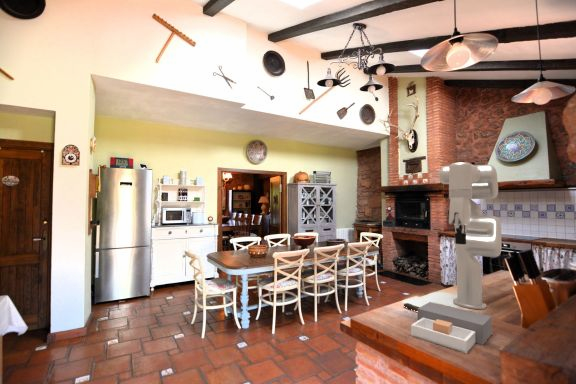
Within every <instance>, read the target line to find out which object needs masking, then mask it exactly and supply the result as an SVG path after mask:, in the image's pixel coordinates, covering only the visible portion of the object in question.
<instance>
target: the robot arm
mask: <svg viewBox="0 0 576 384" xmlns="http://www.w3.org/2000/svg"><path fill="white" fill-rule="evenodd" d="M438 179H439V182H440V183H441V184H443V185H448V199H449V200H450V202H449V208H448V209H449V212H448V213H449V214H448V223H449V225H453V226H454V237H455V238H454V247H455V253H456V254H455V255H456V298H453V301H452V302H453V304H455V305H457V306H460V307H462V308H466V309H472V310H485V309H487V304H486V303H485V302H483V270H482V269H483V267H482V263H481V262H480V261H479V259H477V257H488V258H489V257H490V258H496V257H499V256H501V252H502V224H501V220H500V218H499V217H498V216H495V215H484V214H482V213H483V209H482V207H481V206H480V205H479V204H478V203H477V202H475V201H474V200H493V199H496V198H497V197H498V194H499V184H498V183H499V181H498V173H497V169H496V168H495V166H493V165H492V164H478V165H477V164H476V165H475V164H472V163H470V162H465V161H464V162H463V161H460V162H459V161H457V162H453V163H451V164H450V165H443V166H441V168H440V169H439V171H438ZM476 256H477V257H476Z"/></svg>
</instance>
